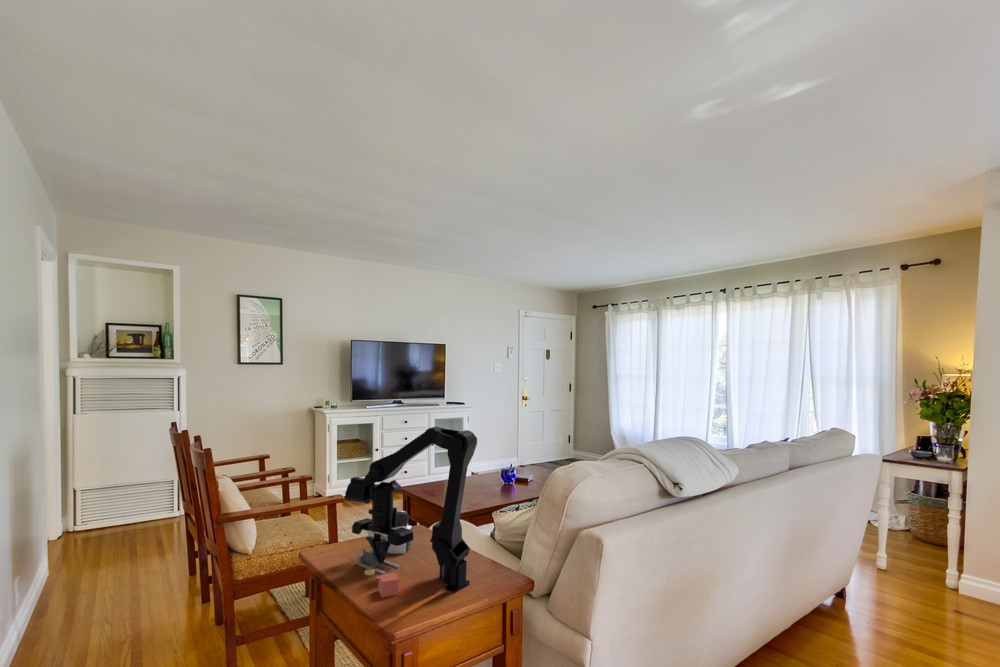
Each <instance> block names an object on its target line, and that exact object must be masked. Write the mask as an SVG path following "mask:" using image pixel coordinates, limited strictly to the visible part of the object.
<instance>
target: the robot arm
mask: <svg viewBox="0 0 1000 667" xmlns="http://www.w3.org/2000/svg"><path fill="white" fill-rule="evenodd" d="M433 445H436V446H438V448H442V449H444V450H447V458H448V462H449V471H448V478H447V483H446V484H447V485H446V490H445V498H444V502H443V503H444V504H443V510H442V516H441V519H440V521H438V522H436V523H435V524H434V525H432V530H431V538H430V540H429V543H431V549H432V551H433V552H434V554H435V556H436V560H437V564H438V566H439V573H438V574H439V577H438V579H440V580H441V581H442V583H444V584H446V586H444V587H443V589H444V590H445V589H446V590H448V591H450V592H453V593H456V592H458V591H459V590H461V589H463V588H464V587H466V586H468V585H470V583H471V582H470V580H467V561H468V560H465V558H466V557H467V556H469V553H470V551H471V548H470V546H469V545H468V544H467V542H466V541H465V540H464V539H463V527H462V524H461V521H460V520H461V510H462V505H463V498H464V492H465V485H466V480H467V472H468V467H469V465H470V462H471V461H472V458H473V456H474V454H475V451H476V448H477V446H478V438H477V436H476V435H475V433H474V432H473V431H471V430H467V429H465V430H462V431H460V430H456V429H455V430H454V429H447V428H444V427H440V426H433V427H429V428H427V429H426V430H425V431H424V432H423V433H421V434H420V435H418V436H417V437H415V438H414V439H413V440H411V441H410V442H408V443H407V444H406V445H404V446H402V447H401V448H400V449H398V450H397V451H395V452H394V453H391V454H389V455H386V456H384V457H381V458H380V459H377V460H375V461H373V462H371V463H370V465H369V471H368V472H367V473H366V475H365V477H359V476H354V477H351V478H350V482H349V484H348V485H347V487H346V490H345V493H344V494H345V498H346V499H345V500H346V501H347V502H349V503H356V504H366V505H369V503H371V508H370V509H368V514H369V515H371V518H368V517H367V518H363V519H359V520H356V521H354V523H353V524H352V526H351V533H352V534H356V535H360V534H361V533H362V530H363V531H367V536H366V537H365V540H366V541H368V544H369V545H370V547H372V549H373V551H374V553H375V555H376V557H377V559H378V562H379V564H380V565H383V564H384V560H386V557H387V554H388V553H387V552H388V549H389V547H390V544H392V545H395V546H400V545H402V544H405V543H407V542H410V541H411V542H412V541H414V531H413V530H411V529H407V528H403V527H402V528H399V529H396V530H394V529H392V528H396V527H398V525H404V526H405V527H407V523H408V524H409V519H410V515H409V514H408V515H406V514H402V513H398V512H397V511H398V509H397V507H394V491H395V492H396V490H399V489H401V487H402V486H401V484H400V483H398V482H397V481H396V479H393V480H391V481H388V482H387V480H388V479H391V478H394V477H395V476H396V475H397V474H398V473H399V472H400V471H401V470H402V469H403V467H404V466H405V465H406V464H407V463H408V462H410V461H411V460H412V459H414V458H415V457H416V456H418V455H420V454H421V453H423V451H426V450H427V449H429V448H430V447H431V446H433Z"/></svg>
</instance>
